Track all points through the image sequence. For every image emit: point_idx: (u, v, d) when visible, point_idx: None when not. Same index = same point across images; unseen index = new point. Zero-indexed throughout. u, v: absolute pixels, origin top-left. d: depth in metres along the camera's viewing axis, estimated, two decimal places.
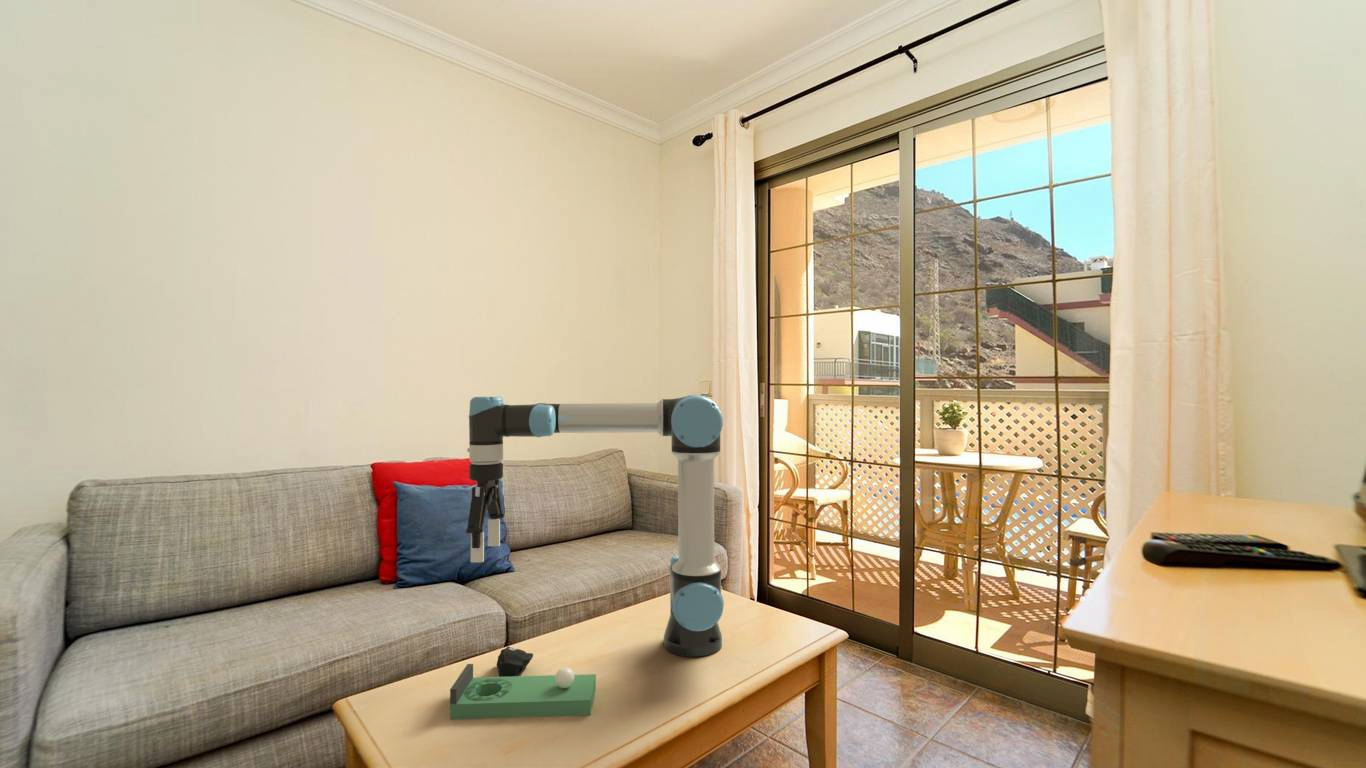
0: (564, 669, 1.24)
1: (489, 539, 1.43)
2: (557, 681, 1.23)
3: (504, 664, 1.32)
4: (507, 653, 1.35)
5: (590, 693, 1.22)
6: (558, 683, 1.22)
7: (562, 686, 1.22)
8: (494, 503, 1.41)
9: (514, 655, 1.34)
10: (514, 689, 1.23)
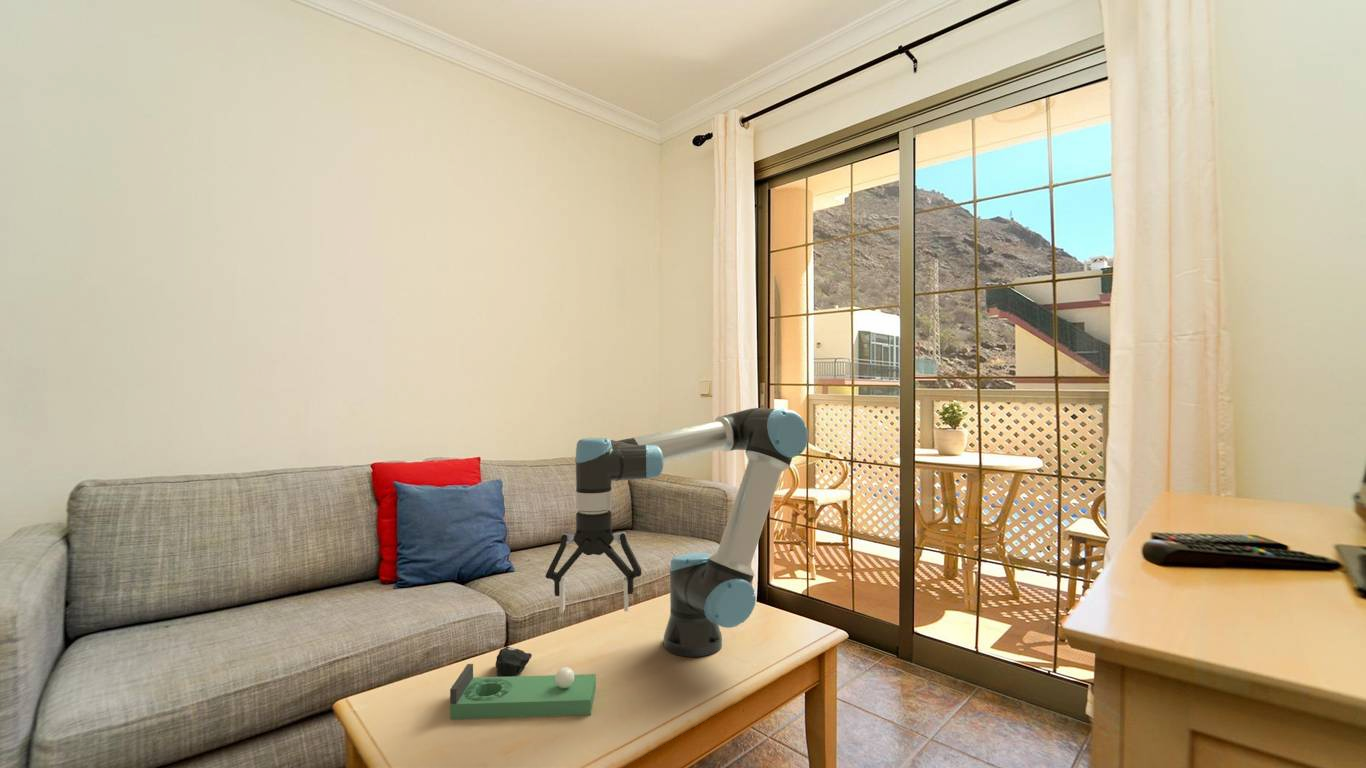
0: (564, 669, 1.24)
1: None
2: (557, 681, 1.23)
3: (502, 664, 1.32)
4: (505, 653, 1.35)
5: (590, 693, 1.22)
6: (558, 683, 1.22)
7: (562, 686, 1.22)
8: (611, 559, 1.25)
9: (512, 655, 1.34)
10: (514, 689, 1.23)
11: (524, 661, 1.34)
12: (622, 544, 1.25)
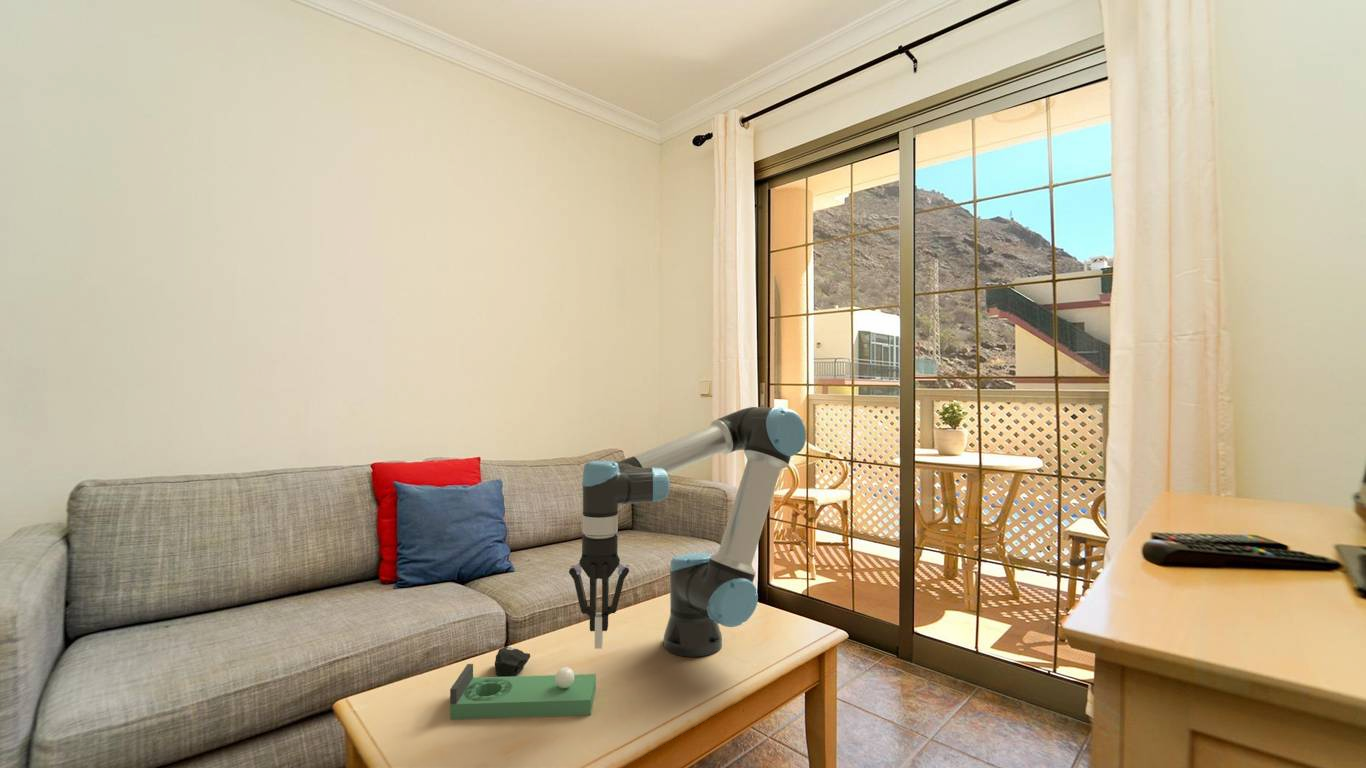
0: (564, 669, 1.24)
1: None
2: (557, 681, 1.23)
3: (500, 664, 1.32)
4: (503, 653, 1.35)
5: (590, 693, 1.22)
6: (558, 683, 1.22)
7: (562, 686, 1.22)
8: (602, 587, 1.24)
9: (510, 655, 1.34)
10: (514, 689, 1.23)
11: (522, 661, 1.34)
12: (620, 577, 1.24)
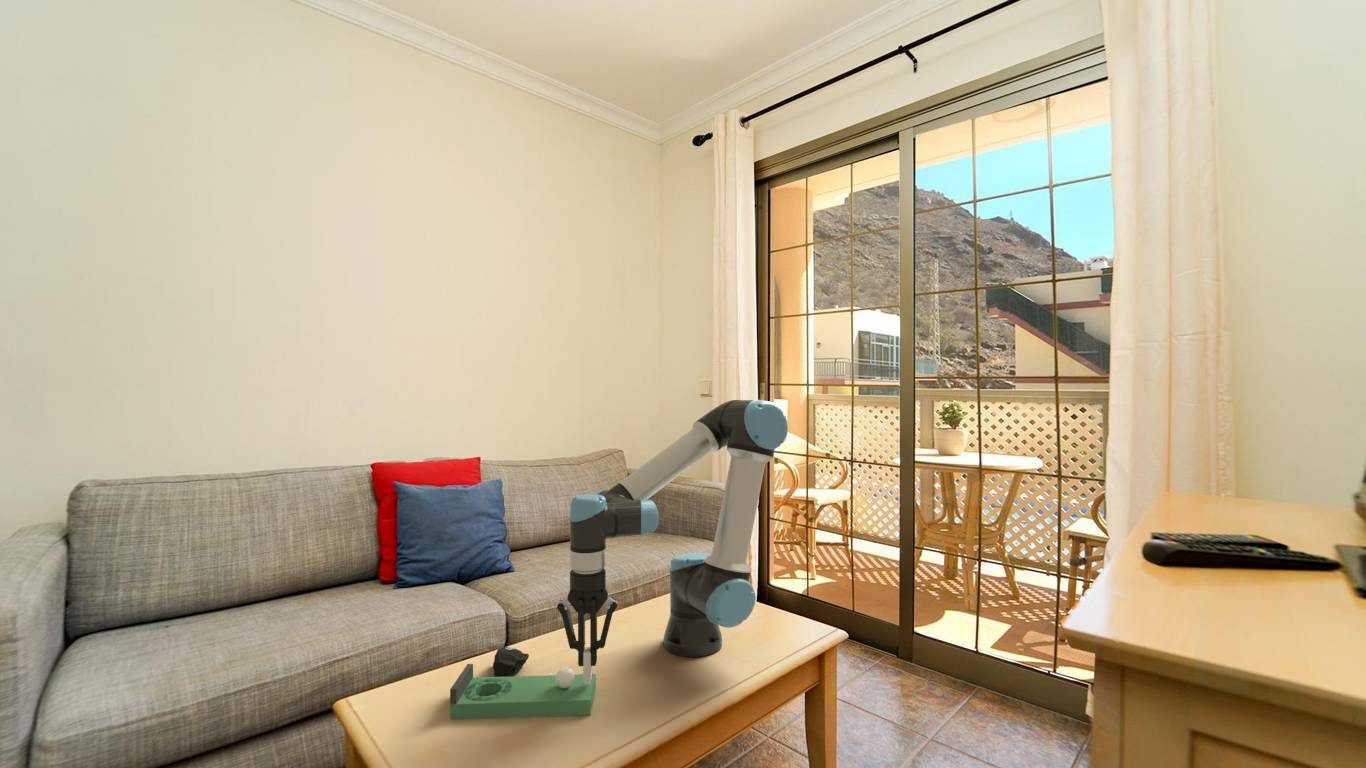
0: (564, 669, 1.24)
1: None
2: (557, 681, 1.23)
3: (497, 663, 1.32)
4: (502, 652, 1.35)
5: (590, 693, 1.22)
6: (558, 683, 1.22)
7: (562, 686, 1.22)
8: None
9: (508, 655, 1.34)
10: (514, 689, 1.23)
11: (520, 661, 1.34)
12: (608, 611, 1.24)
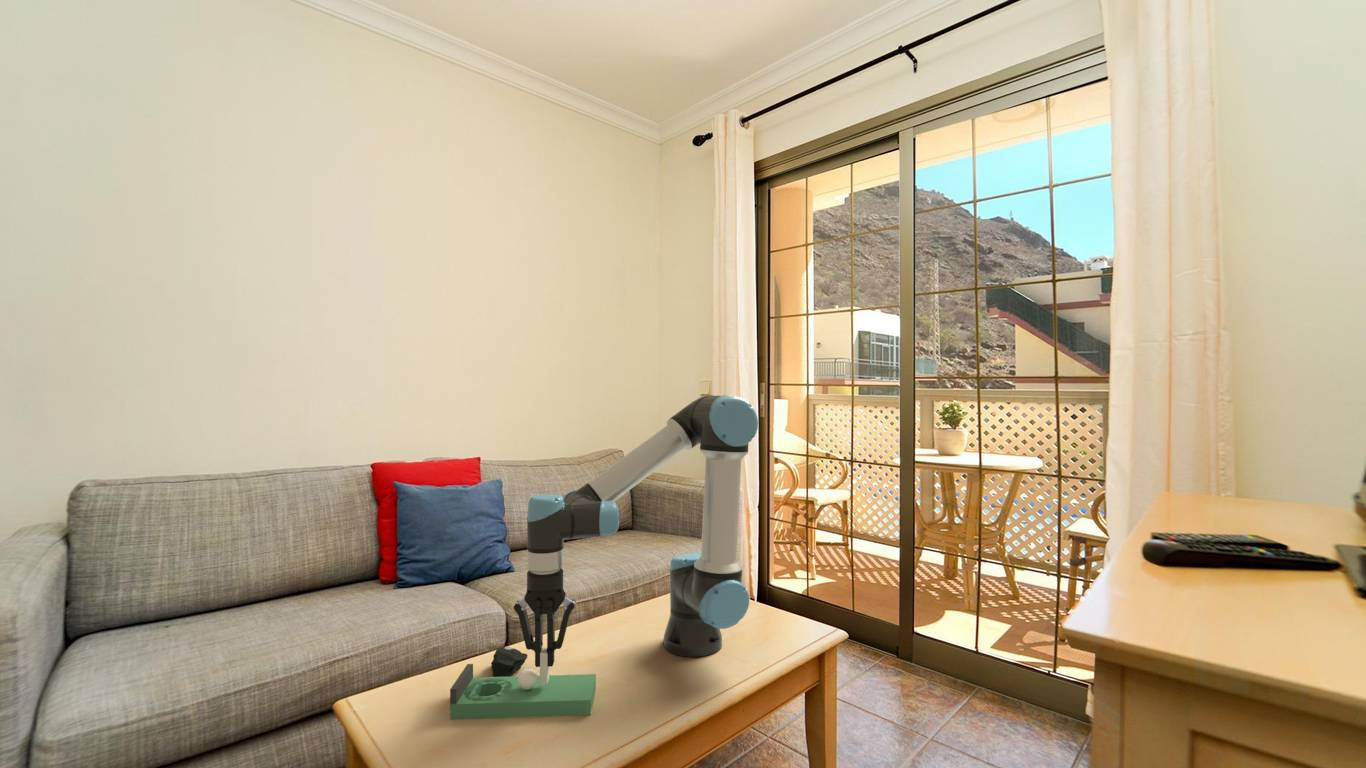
0: (533, 686, 1.23)
1: None
2: (531, 678, 1.22)
3: (495, 663, 1.32)
4: (500, 652, 1.35)
5: (590, 693, 1.22)
6: (529, 677, 1.22)
7: (524, 678, 1.22)
8: None
9: (506, 655, 1.35)
10: (514, 689, 1.23)
11: (518, 661, 1.34)
12: (565, 612, 1.23)
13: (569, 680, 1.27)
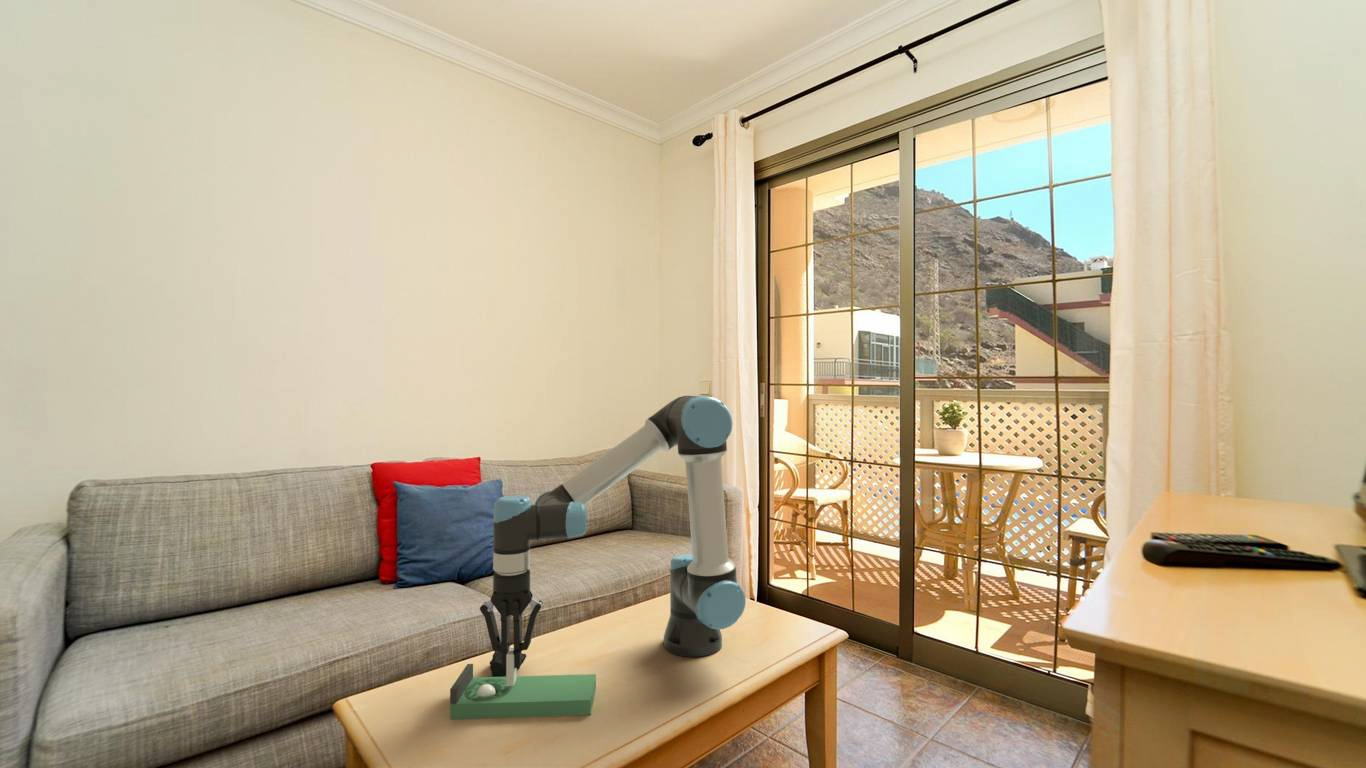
0: None
1: None
2: None
3: (493, 663, 1.32)
4: (499, 652, 1.35)
5: (590, 693, 1.22)
6: None
7: (486, 692, 1.22)
8: None
9: None
10: (514, 689, 1.23)
11: None
12: (532, 613, 1.23)
13: (569, 680, 1.27)
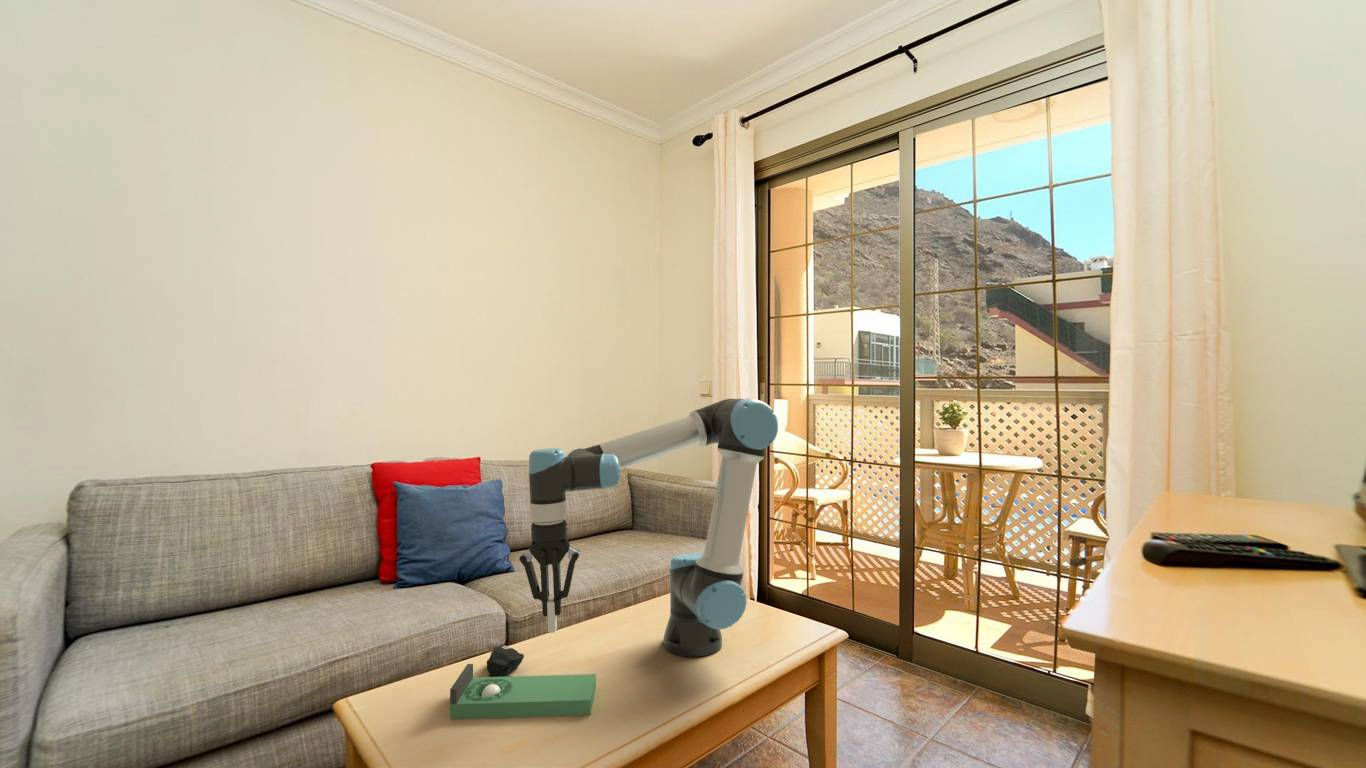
0: None
1: None
2: None
3: (490, 662, 1.33)
4: (496, 651, 1.36)
5: (590, 693, 1.22)
6: None
7: None
8: (553, 573, 1.26)
9: (502, 654, 1.35)
10: (514, 689, 1.23)
11: (513, 661, 1.34)
12: (570, 561, 1.26)
13: (569, 680, 1.27)
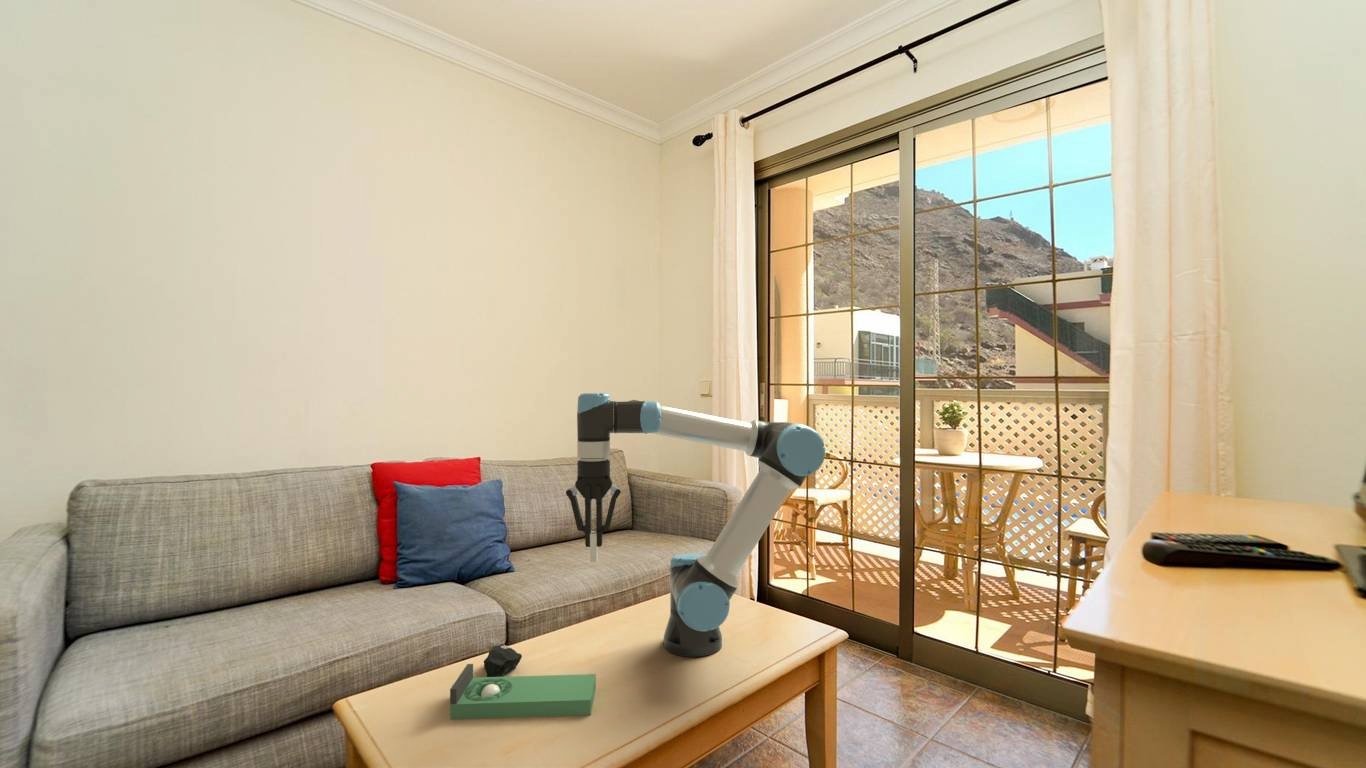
0: None
1: None
2: None
3: (487, 662, 1.33)
4: (493, 651, 1.36)
5: (590, 693, 1.22)
6: None
7: None
8: (596, 507, 1.36)
9: (499, 654, 1.35)
10: (514, 689, 1.23)
11: (509, 661, 1.34)
12: (613, 497, 1.36)
13: (569, 680, 1.27)
